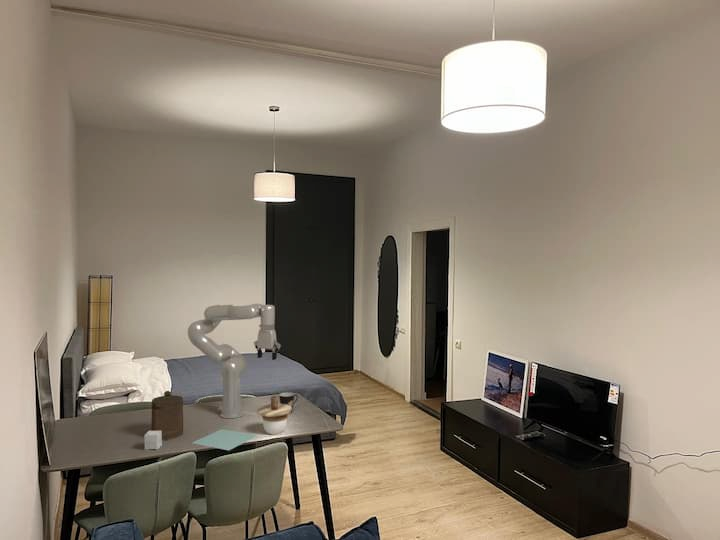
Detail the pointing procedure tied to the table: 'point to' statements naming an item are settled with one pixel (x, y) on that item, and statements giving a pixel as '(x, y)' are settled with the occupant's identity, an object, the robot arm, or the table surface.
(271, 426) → the lidded bowl
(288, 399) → the coffee mug
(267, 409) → the maple lid
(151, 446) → the skincare box
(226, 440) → the rubber mat
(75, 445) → the table surface
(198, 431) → the table surface
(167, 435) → the wooden container
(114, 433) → the table surface
